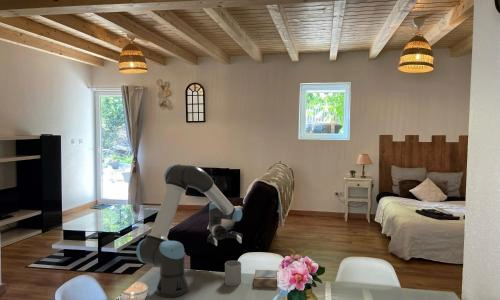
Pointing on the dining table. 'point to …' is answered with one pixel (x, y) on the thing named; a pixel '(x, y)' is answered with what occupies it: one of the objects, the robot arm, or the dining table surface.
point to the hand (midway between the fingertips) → (228, 242)
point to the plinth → (265, 278)
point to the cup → (232, 273)
